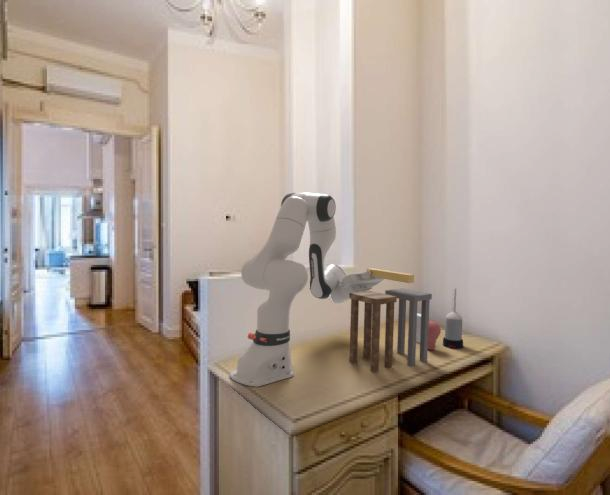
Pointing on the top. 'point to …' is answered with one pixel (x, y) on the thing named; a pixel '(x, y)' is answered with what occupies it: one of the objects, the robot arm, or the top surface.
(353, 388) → the top surface
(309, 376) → the top surface
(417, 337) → the skincare box
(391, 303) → the walnut stand
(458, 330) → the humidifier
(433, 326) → the light bulb
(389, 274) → the ochre bar
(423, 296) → the charcoal stand
